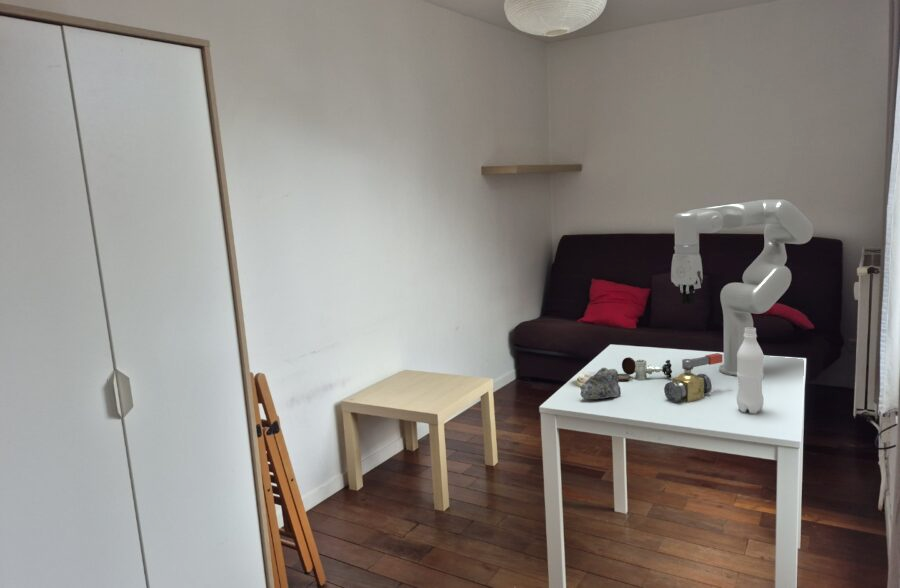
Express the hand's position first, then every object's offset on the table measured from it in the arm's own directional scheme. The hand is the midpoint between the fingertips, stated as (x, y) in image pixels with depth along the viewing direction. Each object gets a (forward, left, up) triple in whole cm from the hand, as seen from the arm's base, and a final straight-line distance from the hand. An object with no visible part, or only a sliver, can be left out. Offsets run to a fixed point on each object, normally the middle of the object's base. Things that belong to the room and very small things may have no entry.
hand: (687, 304), depth 220 cm
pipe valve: (+12, +11, -27) cm, 32 cm away
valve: (+6, -11, -27) cm, 30 cm away
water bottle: (+7, +30, -27) cm, 41 cm away
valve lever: (+6, +12, -17) cm, 22 cm away
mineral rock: (+33, -7, -27) cm, 43 cm away
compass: (+14, -16, -27) cm, 35 cm away
